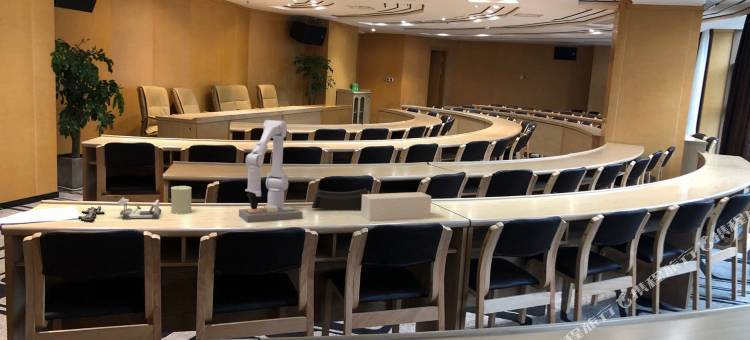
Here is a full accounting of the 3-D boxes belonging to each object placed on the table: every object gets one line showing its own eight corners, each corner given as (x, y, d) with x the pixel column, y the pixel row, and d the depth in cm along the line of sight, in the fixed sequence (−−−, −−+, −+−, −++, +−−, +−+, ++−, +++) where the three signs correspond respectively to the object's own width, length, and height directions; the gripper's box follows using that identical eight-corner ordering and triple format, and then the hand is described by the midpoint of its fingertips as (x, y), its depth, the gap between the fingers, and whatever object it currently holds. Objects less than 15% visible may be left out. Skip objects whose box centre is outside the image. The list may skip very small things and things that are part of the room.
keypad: (238, 215, 282) (238, 209, 281) (291, 212, 294) (291, 205, 293) (247, 222, 269) (247, 216, 269) (302, 218, 282) (302, 212, 281)
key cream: (263, 212, 282) (263, 206, 282) (274, 211, 285) (274, 205, 284) (267, 214, 278) (267, 208, 278) (277, 214, 280) (277, 207, 280)
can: (166, 212, 282) (166, 187, 280) (178, 208, 290) (178, 184, 289) (184, 214, 279) (183, 189, 277) (195, 210, 288) (195, 186, 286)
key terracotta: (246, 216, 279) (247, 209, 278) (257, 215, 281) (257, 209, 281) (250, 218, 274) (250, 212, 274) (260, 217, 277) (260, 211, 276)
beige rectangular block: (420, 213, 305) (421, 192, 303) (430, 217, 295) (431, 196, 293) (361, 216, 292) (361, 194, 291) (369, 221, 282) (370, 198, 281)
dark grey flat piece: (102, 219, 260) (76, 220, 256) (102, 223, 260) (76, 224, 256) (106, 206, 285) (82, 206, 281) (106, 209, 285) (82, 210, 282)
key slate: (280, 213, 286) (280, 207, 286) (290, 212, 289) (290, 206, 288) (283, 216, 282) (283, 209, 281) (293, 215, 284) (293, 209, 284)
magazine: (307, 193, 297) (365, 176, 301) (307, 191, 300) (364, 174, 304) (316, 225, 300) (374, 208, 305) (316, 223, 303) (373, 206, 308)
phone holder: (114, 198, 263) (119, 193, 274) (115, 220, 264) (119, 214, 276) (158, 198, 267) (161, 193, 279) (159, 220, 269) (161, 214, 280)
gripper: (241, 177, 280) (241, 206, 282) (250, 182, 267) (249, 212, 269) (256, 176, 283) (255, 205, 285) (265, 182, 270) (265, 211, 272)
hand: (253, 208), depth 277 cm, fingers closed
